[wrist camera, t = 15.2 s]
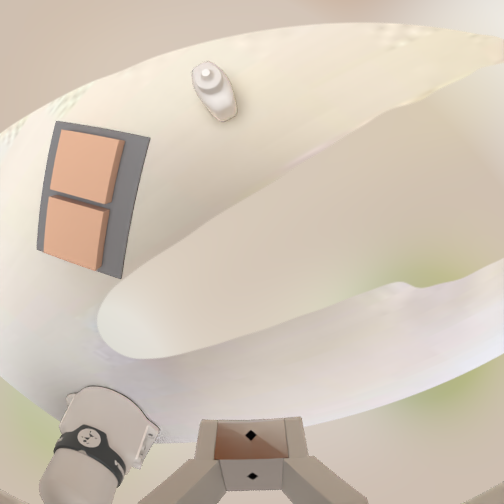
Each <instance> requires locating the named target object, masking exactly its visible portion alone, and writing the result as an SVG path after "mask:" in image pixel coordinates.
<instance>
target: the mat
mask: <svg viewBox="0 0 504 504" xmlns="http://www.w3.org/2000/svg"><path fill="white" fill-rule="evenodd" d="M61 130H70V131H76V132H82V133H87V134H93V135H98V136H103V137H109V138H114V139H119V140H124V141H125V143H124V147H123V151H122V155H121V159H120V164H119V168H118V172H117V177H116V182H115V186H114V191H113V196H112V201H111V202H110V203H107V204H102V203H99V202H95V201H91V200H88V199H84V198H80V197H77V196H73V195H69V194H66V193H62V192H58V191H55V190H51V189H50V185H51V179H52V173H53V168H54V162H55V157H56V152H57V147H58V143H59V138H60V134H61ZM149 141H150V138H148V137H144V136H139V135H134V134H129V133H124V132H119V131H114V130H108V129H103V128H97V127H91V126H85V125H79V124H73V123H66V122H59V121H56V123H55V127H54V131H53V136H52V140H51V145H50V149H49V154H48V160H47V165H46V171H45V177H44V183H43V190H42V197H41V205H40V214H39V225H38V237H37V250H40V251H42V252H44V237H45V226H46V216H47V207H48V199H49V196H53V195H60V196H63V197H67V198H70V199H74V200H78V201H81V202H85V203H88V204H92V205H96V206H99V207H103V208H106V209H110V212H109V218H108V224H107V230H106V236H105V243H104V250H103V258H102V266H101V267H100V268H98V269H97V270H96V271H98V272H101V273H104V274H107V275H110V276H113V277H116V278H119V279H121V277H122V270H123V264H124V257H125V251H126V245H127V239H128V234H129V228H130V223H131V218H132V213H133V208H134V203H135V198H136V194H137V189H138V185H139V180H140V176H141V172H142V168H143V164H144V160H145V156H146V152H147V148H148V145H149Z"/></svg>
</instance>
